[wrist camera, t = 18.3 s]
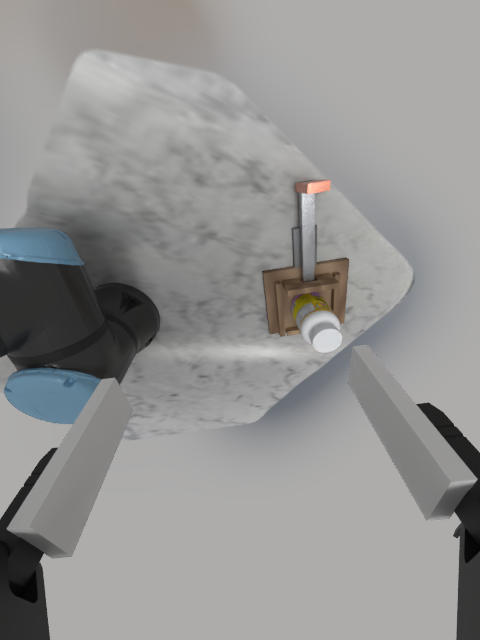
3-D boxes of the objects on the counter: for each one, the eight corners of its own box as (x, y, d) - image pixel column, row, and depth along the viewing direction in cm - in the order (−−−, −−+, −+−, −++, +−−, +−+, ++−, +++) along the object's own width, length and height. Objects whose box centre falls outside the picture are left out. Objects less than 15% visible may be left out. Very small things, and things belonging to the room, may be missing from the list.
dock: (269, 331, 53) (273, 348, 48) (258, 233, 43) (262, 241, 37) (341, 320, 52) (354, 336, 47) (349, 218, 42) (366, 224, 36)
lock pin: (298, 278, 46) (308, 293, 40) (295, 183, 37) (307, 184, 31) (314, 276, 45) (326, 291, 39) (314, 179, 37) (330, 179, 31)
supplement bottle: (328, 305, 49) (356, 342, 38) (301, 323, 51) (320, 364, 40) (311, 282, 46) (335, 315, 35) (283, 302, 48) (298, 340, 37)
